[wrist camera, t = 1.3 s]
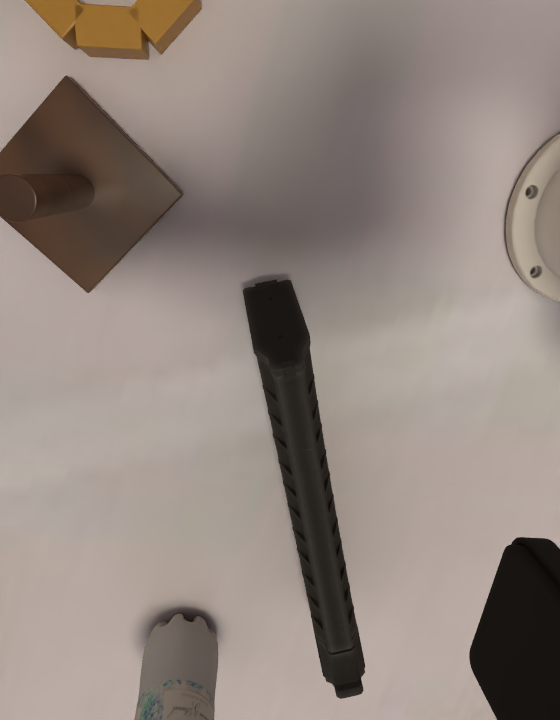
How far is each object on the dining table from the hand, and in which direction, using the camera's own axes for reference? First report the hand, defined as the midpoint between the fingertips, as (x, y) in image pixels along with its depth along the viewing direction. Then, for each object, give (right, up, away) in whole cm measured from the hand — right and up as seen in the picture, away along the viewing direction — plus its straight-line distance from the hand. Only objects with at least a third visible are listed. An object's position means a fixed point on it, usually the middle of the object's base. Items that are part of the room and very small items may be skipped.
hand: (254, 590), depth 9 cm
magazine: (+2, -4, +32) cm, 32 cm away
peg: (-12, +15, +23) cm, 30 cm away
